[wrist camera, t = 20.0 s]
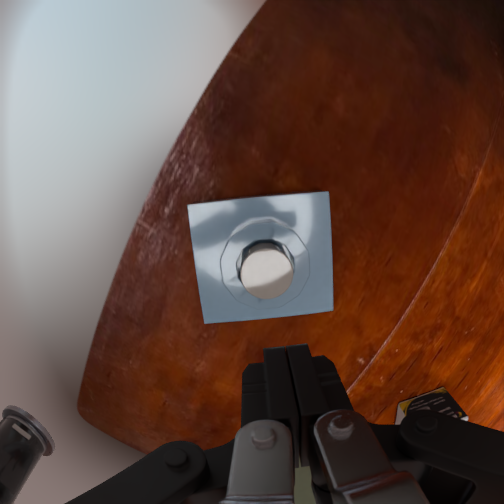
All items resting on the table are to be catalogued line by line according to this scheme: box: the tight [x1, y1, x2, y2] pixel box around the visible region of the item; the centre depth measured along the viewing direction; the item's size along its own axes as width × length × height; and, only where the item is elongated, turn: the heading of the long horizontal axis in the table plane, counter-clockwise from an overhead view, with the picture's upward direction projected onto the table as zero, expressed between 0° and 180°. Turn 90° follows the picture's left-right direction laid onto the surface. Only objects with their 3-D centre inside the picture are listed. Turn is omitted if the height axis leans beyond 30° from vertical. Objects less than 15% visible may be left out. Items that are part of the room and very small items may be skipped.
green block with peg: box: [294, 457, 316, 504], centre depth 26 cm, size 10×7×15 cm
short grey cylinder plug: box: [240, 243, 293, 299], centre depth 22 cm, size 4×4×2 cm
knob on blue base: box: [187, 190, 333, 324], centre depth 25 cm, size 11×10×5 cm
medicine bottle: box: [395, 387, 468, 425], centre depth 27 cm, size 7×7×12 cm
